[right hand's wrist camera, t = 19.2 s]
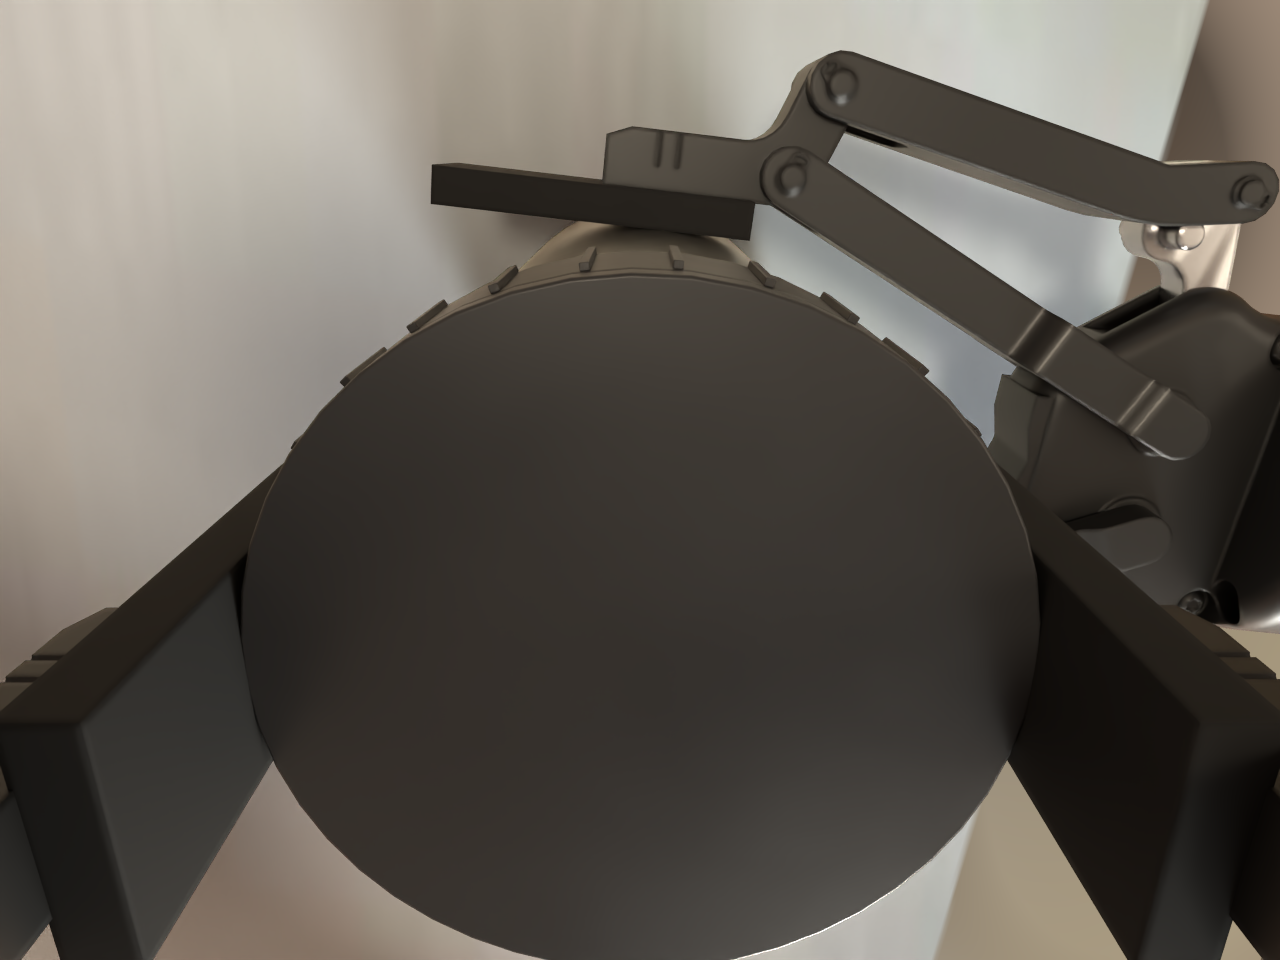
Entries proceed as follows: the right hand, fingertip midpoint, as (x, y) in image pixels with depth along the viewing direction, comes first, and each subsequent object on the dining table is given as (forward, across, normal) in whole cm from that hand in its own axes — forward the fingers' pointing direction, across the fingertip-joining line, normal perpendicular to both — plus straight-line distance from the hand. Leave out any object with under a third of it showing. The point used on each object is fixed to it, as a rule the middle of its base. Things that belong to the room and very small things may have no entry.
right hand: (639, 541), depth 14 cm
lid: (-3, 0, 0) cm, 3 cm away
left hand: (+7, -5, 0) cm, 9 cm away
